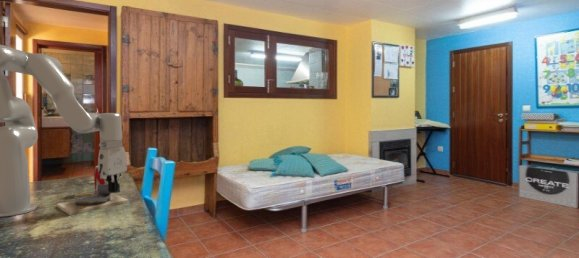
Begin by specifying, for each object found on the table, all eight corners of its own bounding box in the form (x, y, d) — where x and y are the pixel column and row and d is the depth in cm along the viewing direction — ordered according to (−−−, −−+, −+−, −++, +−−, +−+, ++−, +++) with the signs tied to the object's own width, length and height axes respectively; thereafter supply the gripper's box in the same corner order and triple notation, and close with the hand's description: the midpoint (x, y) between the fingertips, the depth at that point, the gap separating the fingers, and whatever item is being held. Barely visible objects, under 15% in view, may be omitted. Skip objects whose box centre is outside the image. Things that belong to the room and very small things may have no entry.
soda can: (99, 195, 143) (97, 167, 142) (92, 192, 147) (90, 166, 146) (115, 191, 148) (114, 165, 148) (108, 189, 153) (107, 164, 152)
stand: (69, 215, 116) (69, 206, 115) (57, 206, 126) (56, 198, 126) (128, 202, 131) (128, 194, 130) (112, 195, 141) (112, 188, 141)
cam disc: (82, 207, 120) (81, 191, 120) (69, 201, 127) (69, 186, 127) (122, 198, 131) (122, 183, 131) (109, 193, 139) (108, 179, 138)
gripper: (103, 147, 119) (105, 197, 120) (133, 143, 133) (135, 187, 134) (87, 146, 121) (89, 195, 122) (118, 142, 135) (120, 186, 137)
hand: (113, 191), depth 128 cm, fingers closed
